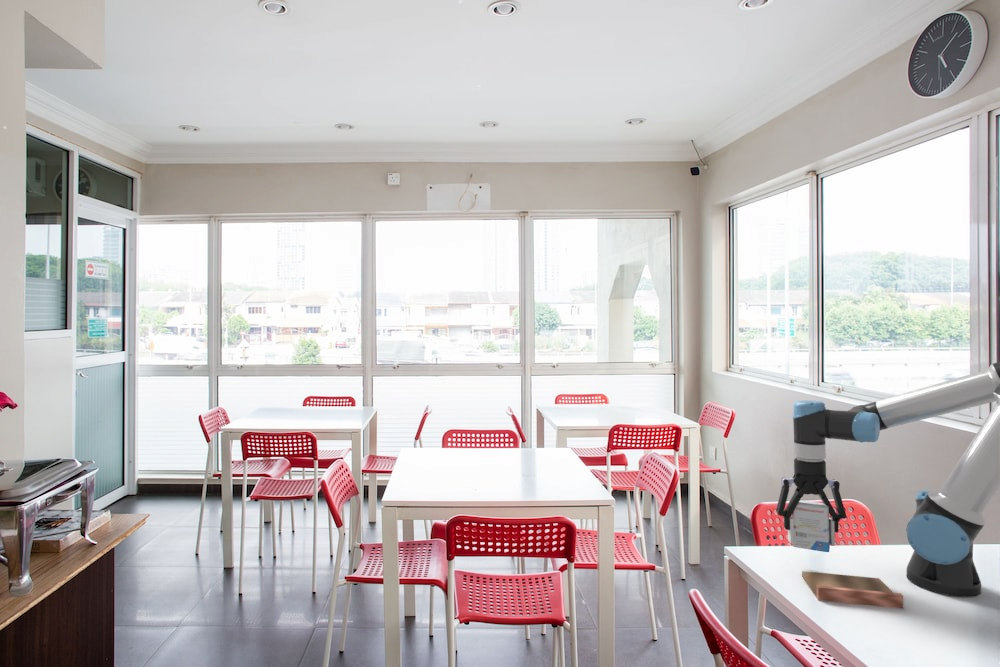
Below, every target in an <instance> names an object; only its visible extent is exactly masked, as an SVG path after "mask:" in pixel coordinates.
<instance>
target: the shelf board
mask: <svg viewBox="0 0 1000 667" xmlns="http://www.w3.org/2000/svg"><path fill="white" fill-rule="evenodd" d="M802 577H803V578H802ZM801 578H802V579H803V581H804V582H805V583H806V585H807V586H808V588H809V589H810V591H811V592H812V593H813V594H814V597H815V598H816V600H818V601H822V602H823V601H825V602H834V603H845V604H853V605H854V604H855V605H862V606H873V607H882V608H883V607H884V608H893V609H902V610H903V609H904V595H903V594H902V593H899V592H894V591H893V590H892V589H890V587H889V586H888V585H887V584H886V583H884V581H882V580H881V578H879V577H869V576H859V575H849V574H848V575H847V574H839V573H838V574H836V573H824V572H818V571H817V572H816V571H815V572H814V571H807V570H806V571H804V570H802V571H801Z"/></svg>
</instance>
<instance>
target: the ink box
mask: <svg viewBox="0 0 1000 667" xmlns="http://www.w3.org/2000/svg"><path fill="white" fill-rule="evenodd" d="M791 517H792V518H793V524H794V544H792V547H793V548H798V549H804V550H811V551H817V552H823V553H830V548H831V547H830V541H829V518H830V514H829V506H827V505H825V504H824V503H823V502H816V501H815V502H814V501H806V500H800V501H799V503H798V504H797V506H796V508H795V510H794V511H793V513H792V515H791Z"/></svg>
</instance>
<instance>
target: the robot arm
mask: <svg viewBox="0 0 1000 667" xmlns="http://www.w3.org/2000/svg"><path fill="white" fill-rule="evenodd" d="M989 365H990V366H989V367H988V369H984V370H982V371H978V372H974V373H971V374H967V375H964V376H960V377H957V378H954V379H950V380H945V381H943V382H940V383H939V382H938V383H936V384H933V385H932V384H931V385H929V386H925V387H922V388H918V389H915V390H911V391H908V392H905V393H900V394H897V395H894V396H891V397H887V398H886V397H885V398H883V399H879V400H877V401H873V402H870V403H866V404H860V405H856V406H853V407H851V409H848V410H834V409H833V410H832V409H829V408H828V409H826V406H825V405H826V403H824V402H823V401H819V400H799V401H798V400H797V401H795V402H794V403H793V404H794V405H793V415H792V416H793V417H792V419H793V420H792V421H793V424H792V425H793V456H794V460H793V470H794V472H793V473H794V474H793V476H792V477H790V478H786V477H782V478H781V485H782V486H781V490H780V495H779V497H778V502H777V505H776V509H775V512H776V513H777V514H778V516H780V517H783V528H784V529H785V530H786V531H787V540H788V542H789V543H790V544H792V545H793V544H794V524H793V518H792V513H793V511H794V510H795V508H796V506H797V504H798V503H799V501H801V499H802V498H803V497H804V495H815V496H818V497H819V498H820V500H821V503H824V504H825V505H827V506H829V541H830V545H831V546H832V547H835V546H836V543H835V542H836V540H835V538H836V535H835V533H838V532H839V522H840V521H841V520H842V519H843V520H844V519H846V518H847V513H846V509H845V507H844V502H843V499H842V496H841V493H840V482H839V481H838V480H837V479H835V478H834V479H833V478H832V479H828V478H827V462H826V461H825V459H826V458H827V455H826V454H827V453H826V451H827V450H826V439H830V440H842V441H851V442H860V443H876V442H877V441H878V440H879V437H880V431H883V430H887V429H891V428H894V427H898V426H903V425H907V424H910V423H913V422H919V421H922V420H926V419H931V418H934V417H938V416H942V415H945V414H950V413H954V412H958V411H961V410H966V409H970V408H973V407H974V408H975V407H978V406H981V405H986V404H990V403H994V402H996V403H995V405H994V406H993V408H992V409H991V411H990V412H989V414H988V416H987V417H986V419H985V420H984V422H982V425H981V426H980V428H979V429H978V430H977V432H976V434H975V436H974V437H973V438H972V440H971V442H970V443H969V445H968V446H967V447H966V450H965V451H964V452H963V454H962V455H961V457H960V458H959V460H958V461H957V463H956V464H955V466H954V467H953V469H952V471H951V472H950V474H949V475H948V477H947V478H946V480H945V482H944V483H943V485H942V486H941V488H940V489H939V490H934V491H933V490H918V491H917V494H916V498H915V503H916V506H915V512H914V514H913V515H912V518H911V519H910V520H909V521H908V522H907V525H906V529H905V530H906V538H907V542H908V543H909V546H910V547H911V548H912V549H913V552H912V554H911V557H910V559H909V562H908V564H907V566H906V574H905V576H906V578H907V580H908V581H909V582H911V583H912V584H915V586H918V587H920V588H922V589H925V590H927V591H930V592H934V593H937V594H941V595H945V596H946V595H947V596H952V597H958V598H973V597H974V598H975V597H977V596H980V595H981V593H982V582H981V579H980V576H979V573H978V570H977V568H976V565H975V562H974V559H973V558H974V555H973V554H974V541H975V539H976V538H977V536H978V535H979V534H980V533H981V531H982V529H983V528H984V526H985V525H986V524H987V522H986V520H985V517H984V515H983V512H984V511H985V510H986V508H987V506H988V505H989V504H990V502H991V501H992V499H993V497H994V496H995V495H996V493H997V491H998V490H999V489H1000V361H998V362H994V363H991V364H989ZM792 484H794V485H795V486H796V488H795V489H794V493H793V495H792V497H791V498H790V500H789V502H788V504H787V500H788V496H789V492H790V488H791V487H792ZM827 485H828V487H829V488H830V490H831V493H832V496H833V502H834V504H835V508H836V510H835V509H834V507H833V505H832V504H831V502H830V500H829V498H828V496H827V494H826V492H825V491H824V489H825V488H826V487H827ZM836 511H837V512H836Z"/></svg>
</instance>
